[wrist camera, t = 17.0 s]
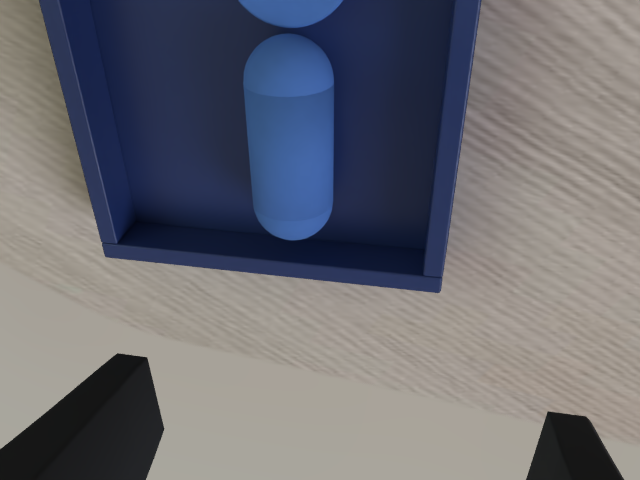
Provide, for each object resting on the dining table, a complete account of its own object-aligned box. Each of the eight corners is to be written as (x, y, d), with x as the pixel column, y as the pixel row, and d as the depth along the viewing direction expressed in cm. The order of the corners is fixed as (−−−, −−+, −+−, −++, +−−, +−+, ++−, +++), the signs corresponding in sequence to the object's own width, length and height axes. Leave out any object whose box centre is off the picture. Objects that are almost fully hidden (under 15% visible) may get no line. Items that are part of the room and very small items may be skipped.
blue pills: (224, -130, 14) (187, -129, 12) (364, -131, 13) (350, -130, 11) (252, 209, 19) (230, 250, 17) (353, 219, 19) (342, 261, 17)
